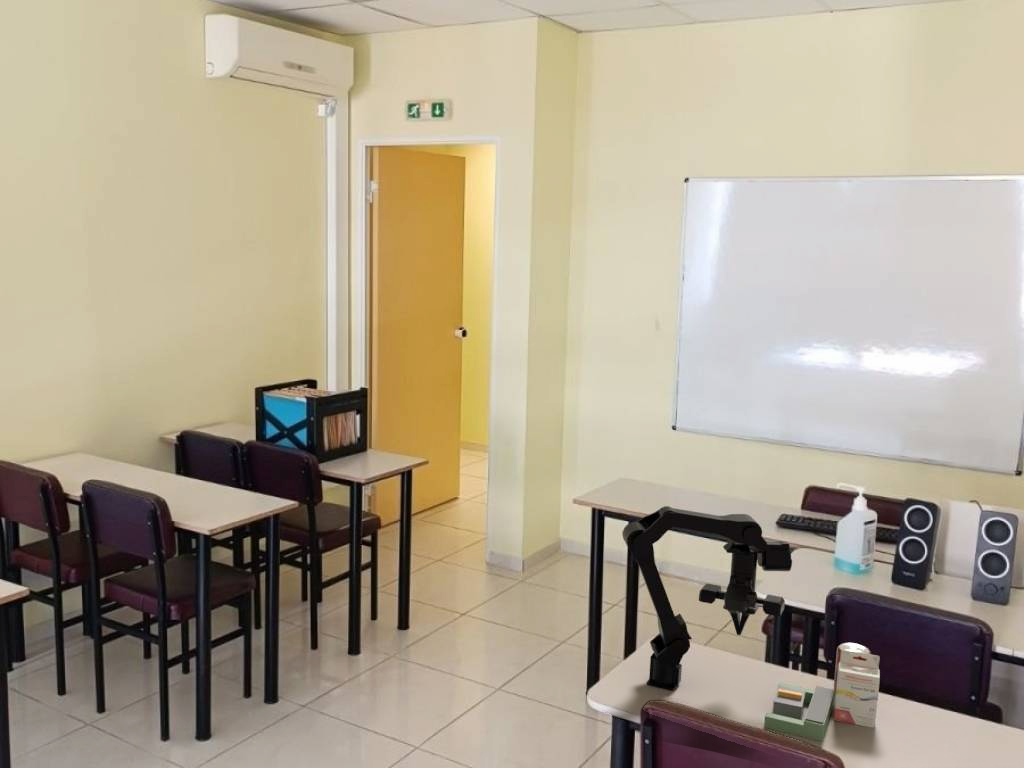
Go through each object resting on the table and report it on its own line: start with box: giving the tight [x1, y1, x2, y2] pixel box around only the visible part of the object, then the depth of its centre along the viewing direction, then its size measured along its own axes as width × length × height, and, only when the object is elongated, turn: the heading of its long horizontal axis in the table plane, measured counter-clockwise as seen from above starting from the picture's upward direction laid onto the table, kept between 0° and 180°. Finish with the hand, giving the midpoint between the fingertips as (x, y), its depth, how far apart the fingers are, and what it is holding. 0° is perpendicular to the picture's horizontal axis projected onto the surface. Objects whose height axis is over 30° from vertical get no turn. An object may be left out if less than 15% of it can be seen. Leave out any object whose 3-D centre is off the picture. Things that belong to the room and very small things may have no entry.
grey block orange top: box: [772, 686, 806, 720], centre depth 214 cm, size 6×8×4 cm
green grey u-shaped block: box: [763, 682, 835, 742], centre depth 212 cm, size 12×18×4 cm, turn 155°
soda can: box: [833, 642, 872, 697], centre depth 220 cm, size 7×7×12 cm
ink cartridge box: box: [833, 650, 881, 729], centre depth 210 cm, size 9×5×15 cm, turn 71°
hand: (739, 634), depth 225 cm, fingers closed
